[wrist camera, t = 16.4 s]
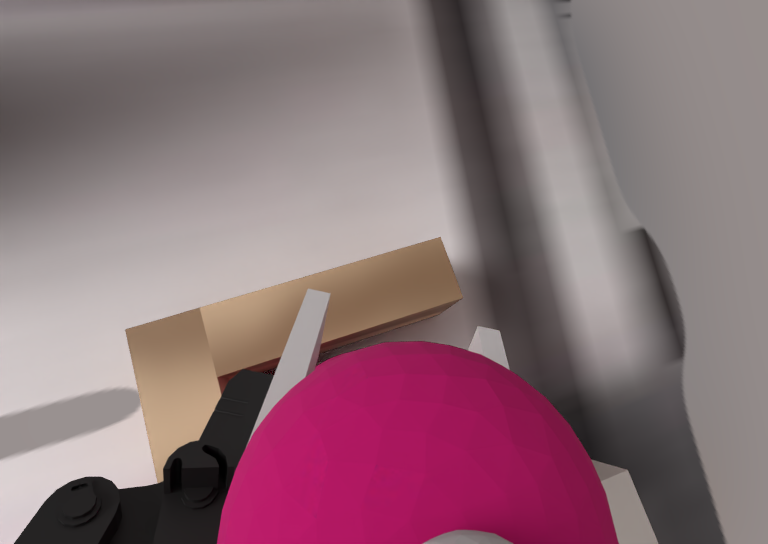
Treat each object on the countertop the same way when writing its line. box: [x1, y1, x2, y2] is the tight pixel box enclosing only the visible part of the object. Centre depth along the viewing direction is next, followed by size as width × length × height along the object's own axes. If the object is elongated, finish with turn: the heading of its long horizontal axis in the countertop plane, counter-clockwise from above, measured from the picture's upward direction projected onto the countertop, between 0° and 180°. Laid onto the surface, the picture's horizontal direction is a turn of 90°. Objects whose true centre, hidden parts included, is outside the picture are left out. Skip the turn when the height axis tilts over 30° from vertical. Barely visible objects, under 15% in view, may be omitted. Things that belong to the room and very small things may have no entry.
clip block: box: [125, 237, 463, 483], centre depth 21 cm, size 15×14×5 cm
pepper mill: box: [217, 341, 619, 544], centre depth 13 cm, size 7×7×20 cm
